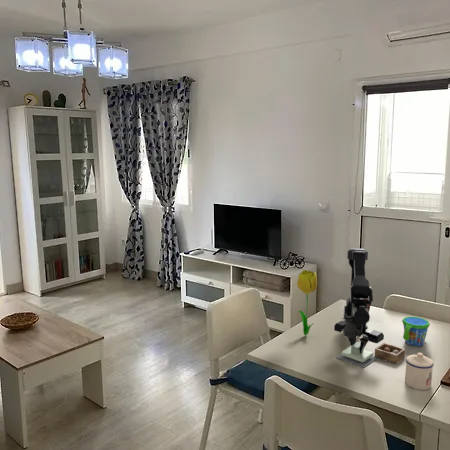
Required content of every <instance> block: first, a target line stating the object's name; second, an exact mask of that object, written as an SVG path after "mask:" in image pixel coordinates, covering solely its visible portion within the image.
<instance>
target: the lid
mask: <svg viewBox="0 0 450 450" xmlns="http://www.w3.org/2000/svg"><path fill="white" fill-rule="evenodd" d="M360 343H361V341H356V343H355V344H353V345H352V346H351V345H350V346H348V347H347V348H345V349H344V350H343V351H341V353H340V355H343V356H346V357H349V358H352V359H355V360H357V361H360V362H364V361H366V360H367V359H368V358H370V357H371V356H374V352H372V351H370V350H367V349H364V350H363V352H362V353H360Z"/></svg>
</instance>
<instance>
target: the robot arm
mask: <svg viewBox="0 0 450 450" xmlns="http://www.w3.org/2000/svg"><path fill="white" fill-rule="evenodd" d="M346 259H347V260H348V265H349V266H350V269H351V270H350V287H349V297H348V298H347V299H346V301H345V305H343V306H344V307H343V319H344V320H340V321H338V322H336V323H335V324H334V326H333V330H334V331H335V332H337V333H338V332H339V333H341V332H342V331H343V336H344V337H345V338H348V341H349V343H350V346H352V345H353V344H355V343H356V342H357V337H359V342H360V353H362V352H363V350H365V348H366V345H367V344H368V342H371V343H373V344H378V343H380V342H382V341H383V340H384V339H385V335H384V333H383V332H382V331H379V330H376V329H373V330H372V331H368V328H369V327H368V326H367V323H368V322H369V321H370V318H371V315H370V311H369V312H368V309H367V304H368V305H372V302H373V300H374V297H373V289H372V287H371V286H370V281H369V280H368V279H367V278H366V268H365V267H366V266H365V265H366V261H368V259H369V252H368V251H367V250H365V248H359V247H358V248H354V247H351V248H349V249H348V250H347V251H346ZM365 299H368V300H365Z"/></svg>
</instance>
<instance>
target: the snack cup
mask: <svg viewBox="0 0 450 450" xmlns="http://www.w3.org/2000/svg"><path fill="white" fill-rule="evenodd" d="M401 322H402V325H403V336H402V337H403V338H402V339H403V340H405V343H406V344H407V345H409V346H413V347H421V346H423V345H424V344H425V341H426V337H427V333H428V328H429V327H430V322H429V321H428V320H427V319H425V318H424V317H419V316H406V317H403V319H402V321H401Z"/></svg>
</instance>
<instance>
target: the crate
mask: <svg viewBox="0 0 450 450" xmlns="http://www.w3.org/2000/svg"><path fill="white" fill-rule="evenodd" d="M374 356H375V357H378V358H377V359H380V360H383V361H386V362H389V363H392V364H395V365H397V364H398V363H399V362H401V361H402V360H404V358H405V359H406V348H403V347H400V346H397V345H393V344H389V343H387V342H382V343H381V344H379V345H378V346H377V347H375V348H374Z"/></svg>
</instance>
